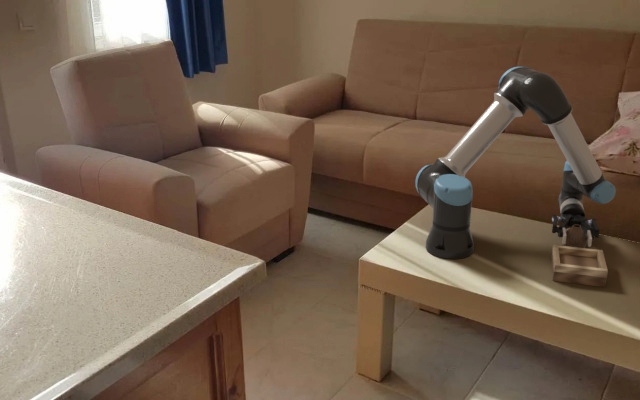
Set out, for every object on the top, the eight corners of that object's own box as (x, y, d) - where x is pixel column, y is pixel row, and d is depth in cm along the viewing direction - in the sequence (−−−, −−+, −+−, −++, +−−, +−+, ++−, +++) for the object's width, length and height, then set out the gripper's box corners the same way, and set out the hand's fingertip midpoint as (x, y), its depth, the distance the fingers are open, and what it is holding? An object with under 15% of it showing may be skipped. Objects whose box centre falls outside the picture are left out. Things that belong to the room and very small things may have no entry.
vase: (589, 253, 196) (593, 228, 193) (572, 257, 193) (576, 231, 190) (573, 244, 202) (577, 219, 199) (556, 248, 199) (560, 223, 196)
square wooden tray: (552, 280, 180) (554, 265, 178) (551, 259, 192) (553, 244, 191) (605, 287, 176) (607, 271, 174) (600, 265, 188) (602, 250, 187)
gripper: (602, 226, 209) (610, 256, 189) (540, 220, 215) (542, 248, 194) (605, 205, 207) (614, 233, 186) (543, 200, 212) (544, 226, 192)
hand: (577, 241), depth 190 cm, fingers closed on vase, 7 cm apart
